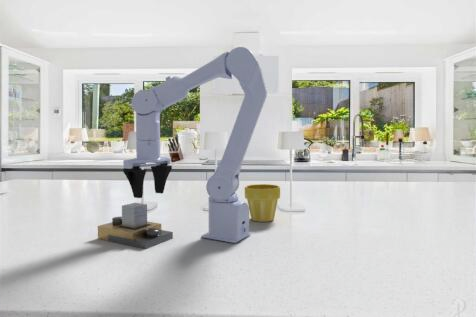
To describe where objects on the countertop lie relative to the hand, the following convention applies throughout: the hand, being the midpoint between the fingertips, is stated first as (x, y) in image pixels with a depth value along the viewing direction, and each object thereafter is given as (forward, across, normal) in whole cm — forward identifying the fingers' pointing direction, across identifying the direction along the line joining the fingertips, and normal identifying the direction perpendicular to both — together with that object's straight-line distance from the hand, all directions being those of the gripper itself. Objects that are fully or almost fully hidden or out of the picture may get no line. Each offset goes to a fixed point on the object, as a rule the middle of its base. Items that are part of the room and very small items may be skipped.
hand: (149, 195), depth 85 cm
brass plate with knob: (+9, +6, +1) cm, 11 cm away
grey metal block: (+9, +6, +1) cm, 11 cm away
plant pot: (+10, -26, +19) cm, 34 cm away
